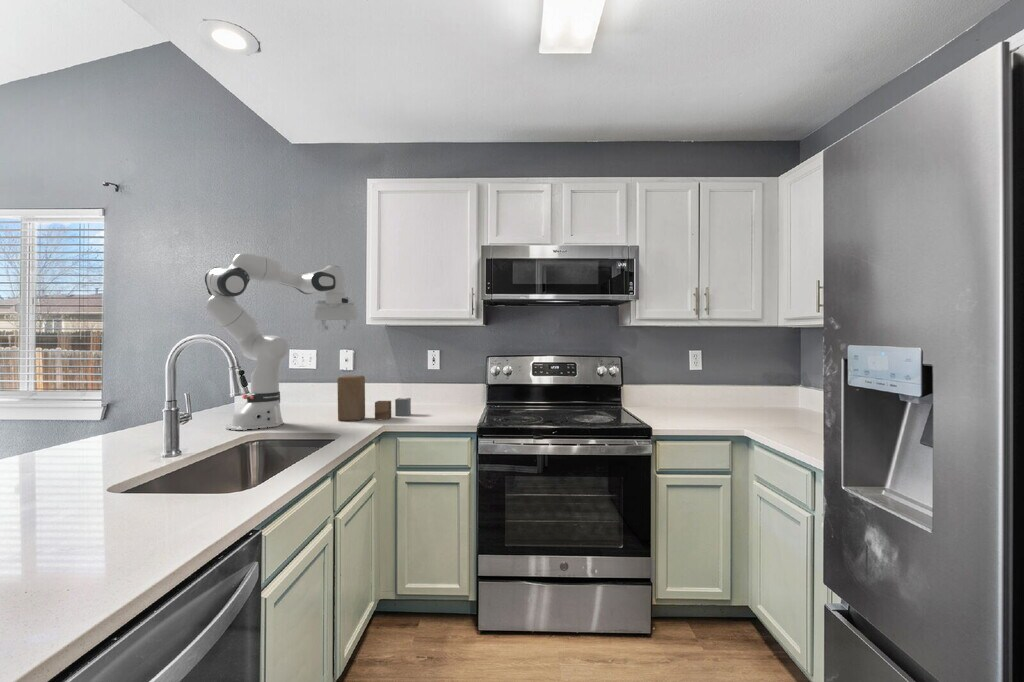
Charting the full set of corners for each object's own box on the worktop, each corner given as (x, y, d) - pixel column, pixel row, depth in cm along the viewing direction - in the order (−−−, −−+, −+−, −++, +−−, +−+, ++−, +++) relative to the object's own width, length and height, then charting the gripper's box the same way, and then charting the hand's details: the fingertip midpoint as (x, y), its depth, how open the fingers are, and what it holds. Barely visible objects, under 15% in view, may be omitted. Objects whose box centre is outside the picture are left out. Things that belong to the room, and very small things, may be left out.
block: (359, 421, 233) (358, 377, 233) (337, 421, 233) (336, 377, 233) (365, 417, 243) (365, 375, 243) (344, 417, 243) (344, 375, 243)
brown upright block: (387, 419, 237) (387, 401, 237) (374, 419, 237) (374, 401, 237) (391, 417, 243) (391, 400, 243) (378, 417, 243) (378, 400, 243)
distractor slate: (407, 416, 247) (407, 399, 246) (395, 416, 247) (395, 399, 247) (410, 414, 252) (410, 397, 252) (398, 414, 253) (398, 397, 253)
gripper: (311, 300, 242) (311, 329, 243) (353, 299, 241) (354, 329, 241) (317, 301, 249) (317, 329, 249) (358, 300, 247) (358, 329, 247)
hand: (335, 329), depth 245 cm, fingers open, 8 cm apart
